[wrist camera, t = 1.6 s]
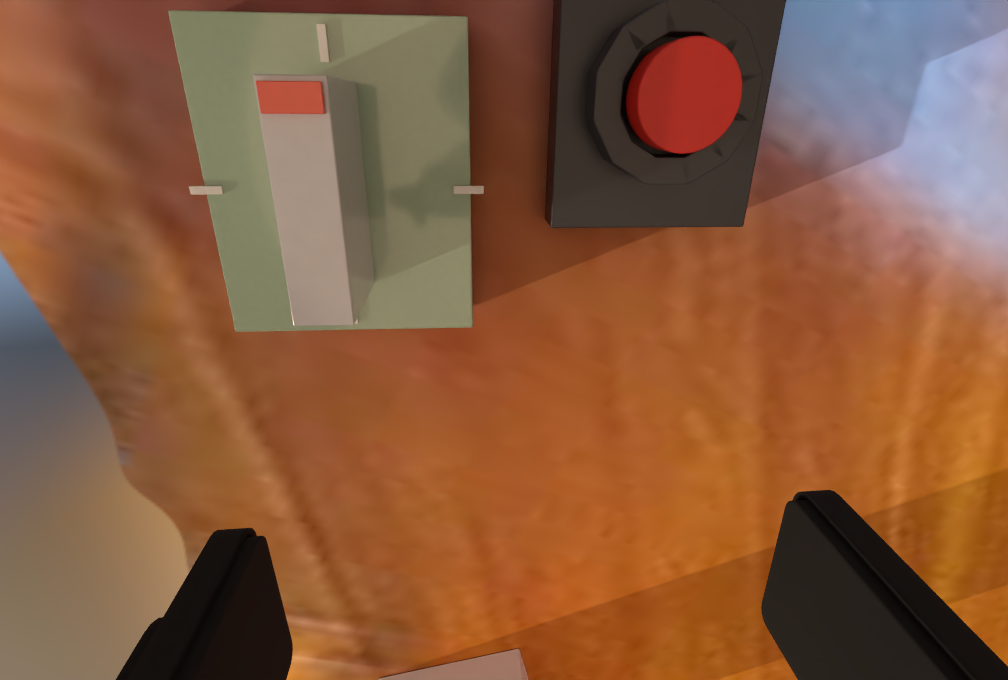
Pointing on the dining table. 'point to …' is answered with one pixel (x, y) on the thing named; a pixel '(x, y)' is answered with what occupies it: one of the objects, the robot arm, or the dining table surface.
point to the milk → (473, 669)
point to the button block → (607, 131)
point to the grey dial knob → (318, 193)
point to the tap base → (385, 143)
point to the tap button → (684, 94)
